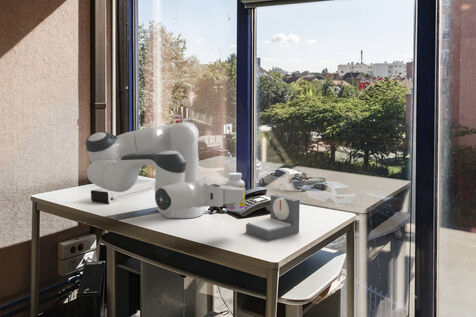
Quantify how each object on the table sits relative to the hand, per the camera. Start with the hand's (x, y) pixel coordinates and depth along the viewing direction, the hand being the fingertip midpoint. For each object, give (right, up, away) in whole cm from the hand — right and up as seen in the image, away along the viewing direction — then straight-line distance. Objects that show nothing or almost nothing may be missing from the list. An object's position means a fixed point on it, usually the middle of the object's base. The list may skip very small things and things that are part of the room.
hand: (237, 187), depth 140 cm
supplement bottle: (-1, -8, 0) cm, 8 cm away
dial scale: (+13, -16, +5) cm, 21 cm away
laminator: (-58, -10, +65) cm, 87 cm away
